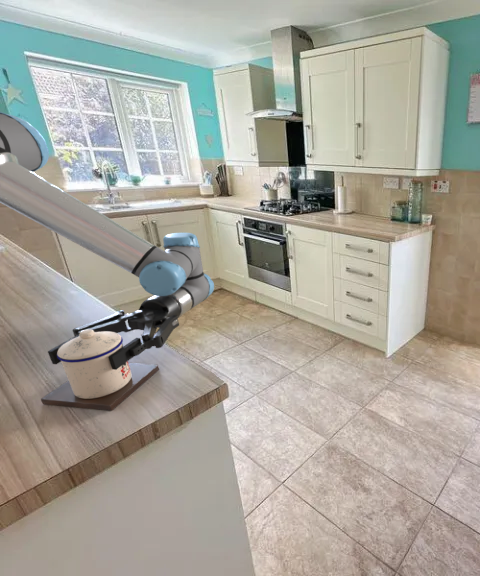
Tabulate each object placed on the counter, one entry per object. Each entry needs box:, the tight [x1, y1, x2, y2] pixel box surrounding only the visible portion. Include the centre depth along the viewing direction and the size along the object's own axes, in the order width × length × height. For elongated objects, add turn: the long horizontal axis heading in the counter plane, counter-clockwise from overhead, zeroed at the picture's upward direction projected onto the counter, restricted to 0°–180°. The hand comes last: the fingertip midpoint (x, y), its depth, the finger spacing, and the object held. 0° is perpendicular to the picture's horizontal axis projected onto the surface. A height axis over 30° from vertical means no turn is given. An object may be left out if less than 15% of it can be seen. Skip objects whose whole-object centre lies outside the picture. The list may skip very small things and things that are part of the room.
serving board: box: [40, 362, 160, 412], centre depth 64 cm, size 13×12×1 cm
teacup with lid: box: [57, 329, 132, 399], centre depth 61 cm, size 12×9×12 cm
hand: (81, 360), depth 59 cm, fingers closed on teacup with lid, 11 cm apart
